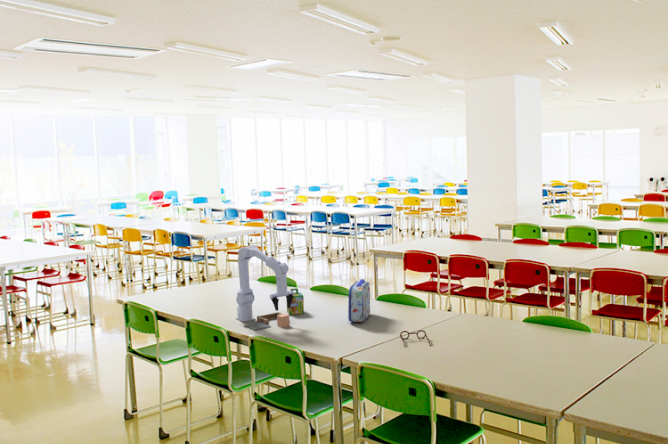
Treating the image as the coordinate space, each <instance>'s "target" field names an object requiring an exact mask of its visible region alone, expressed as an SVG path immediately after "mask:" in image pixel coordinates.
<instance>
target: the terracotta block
mask: <svg viewBox="0 0 668 444" xmlns="http://www.w3.org/2000/svg"><path fill="white" fill-rule="evenodd" d="M276 323H277V327H280V328H285V327H290V315H289V314H288V313H282V314H281V315H277V318H276Z"/></svg>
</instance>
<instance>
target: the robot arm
mask: <svg viewBox="0 0 668 444" xmlns="http://www.w3.org/2000/svg"><path fill="white" fill-rule="evenodd" d="M237 252H238V258H237V267H238V278H239V290H238V291H237V292H236V300H235V301H236V303H237V304H238V306H237V307H236V308H237V317H236V320H238V321H240V322H249V321H255V320H256V318H254V317H253V302H255V294H254V290H253V289H251V287H250V277H249V261H250V260H251V258H253V257H254V258H255V257H256V258H257V259H259V260H260V261H262V262H264V263H265V266H266V267H268V268H270V270H272V271H273V273H274V274H275V279H276V280H275V281H276V292H274V293H272V294H270V295H269V298H270V300H271V301H272V304H273V306H274V310H275V311H276V312H277V311H279V300H280V299H279V298H282V297H285V300H286V309H287V308H290V306H291V302H292V300H293V298H294V296H293V295H294V293H295V290H294V291H291V290H289V291H288V284H287V283H288V281H287V280H288V279H287V278H288V277H287V273H288V272H289V265H287V263H285V262H281V261H279V260H278V259H276V258H275V257H274V256H268V255H267V254H265V253H264V252H263V251H261V250H260V249H259V247H258V246H256V245H254V244H253V245H248V246H242V247H240V248H239V250H238V251H237Z"/></svg>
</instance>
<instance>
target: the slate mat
mask: <svg viewBox="0 0 668 444" xmlns="http://www.w3.org/2000/svg"><path fill="white" fill-rule="evenodd" d="M244 327H246V328H248V329H250V330H253V331H259V330H264V329H268V328H271V327H272V325H270V324H269V325H266V324H264V323H262V322H257V321H256V322H253V323H249V324H245V325H244Z"/></svg>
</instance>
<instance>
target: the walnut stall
mask: <svg viewBox="0 0 668 444" xmlns="http://www.w3.org/2000/svg"><path fill="white" fill-rule="evenodd" d="M281 314H283V312H280V311H279V312H277V311H276V312H272V313H267V314H263V315H257V316H256V323H257V322H262V323H264V324H266V325H269V326H270V321H269V320H275V319H277V315H281Z"/></svg>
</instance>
